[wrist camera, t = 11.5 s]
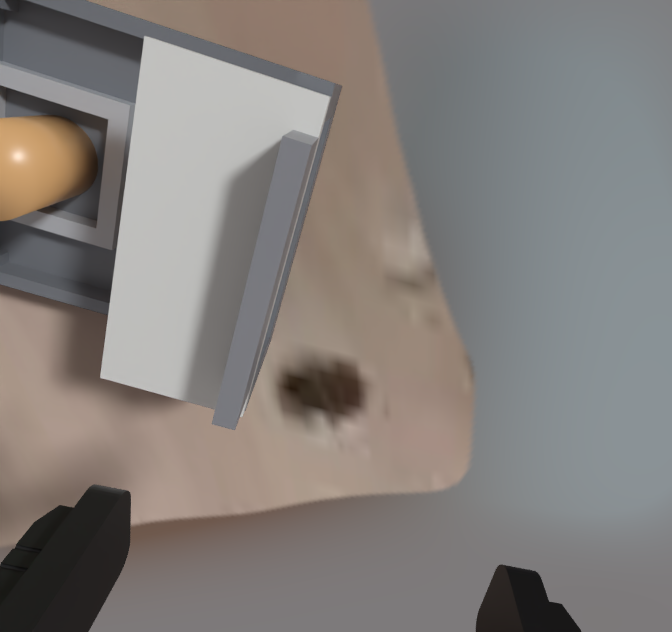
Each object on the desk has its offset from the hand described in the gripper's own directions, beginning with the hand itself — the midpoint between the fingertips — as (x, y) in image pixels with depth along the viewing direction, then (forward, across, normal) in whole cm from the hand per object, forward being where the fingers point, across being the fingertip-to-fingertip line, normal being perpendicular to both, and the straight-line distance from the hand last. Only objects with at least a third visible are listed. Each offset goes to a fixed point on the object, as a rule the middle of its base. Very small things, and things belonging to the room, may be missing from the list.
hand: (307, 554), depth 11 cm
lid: (+13, +7, -2) cm, 15 cm away
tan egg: (+20, +17, -3) cm, 27 cm away
